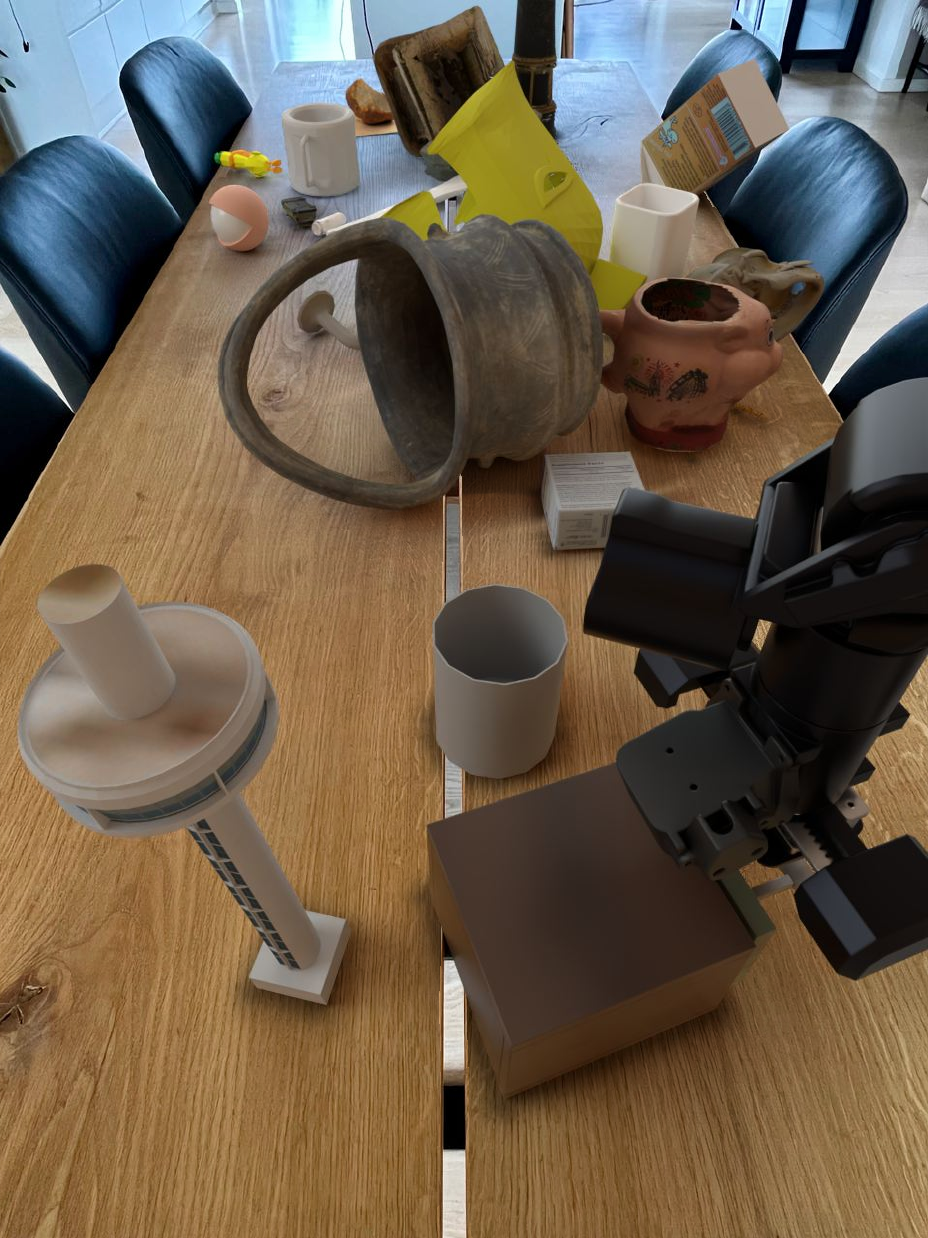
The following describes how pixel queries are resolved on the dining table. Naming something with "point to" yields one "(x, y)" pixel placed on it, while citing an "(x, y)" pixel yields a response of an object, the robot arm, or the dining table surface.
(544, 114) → the black tall cylinder
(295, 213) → the dark green crate
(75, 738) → the model tower
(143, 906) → the dining table surface
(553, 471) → the box
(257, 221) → the toy ball
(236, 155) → the toy figure
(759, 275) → the skull
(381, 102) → the bread chunk
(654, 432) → the decorative planter
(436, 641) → the cup
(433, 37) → the brown square vessel
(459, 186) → the spatula
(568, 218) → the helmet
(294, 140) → the mug
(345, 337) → the toilet paper hanger
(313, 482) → the ancient clay pot
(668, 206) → the cup
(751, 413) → the keychain
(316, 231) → the small white plastic part
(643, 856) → the cabinet
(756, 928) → the drawer
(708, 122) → the milk carton
